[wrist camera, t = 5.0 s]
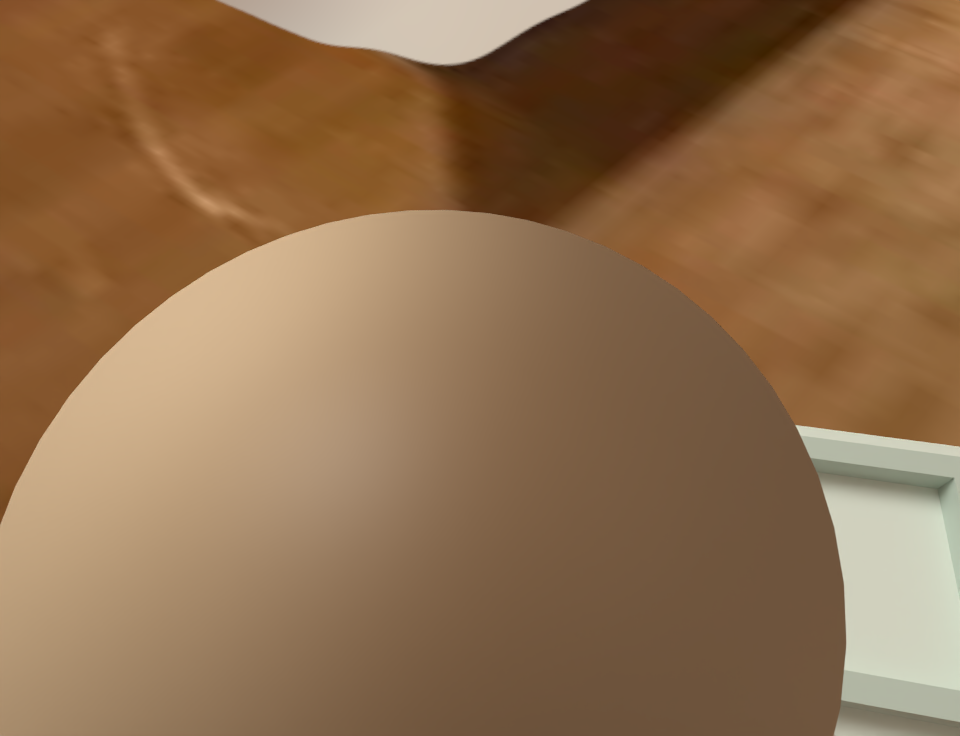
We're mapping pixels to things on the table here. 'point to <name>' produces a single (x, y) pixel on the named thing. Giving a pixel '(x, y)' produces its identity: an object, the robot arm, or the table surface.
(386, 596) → the post
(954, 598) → the base
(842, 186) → the table surface
